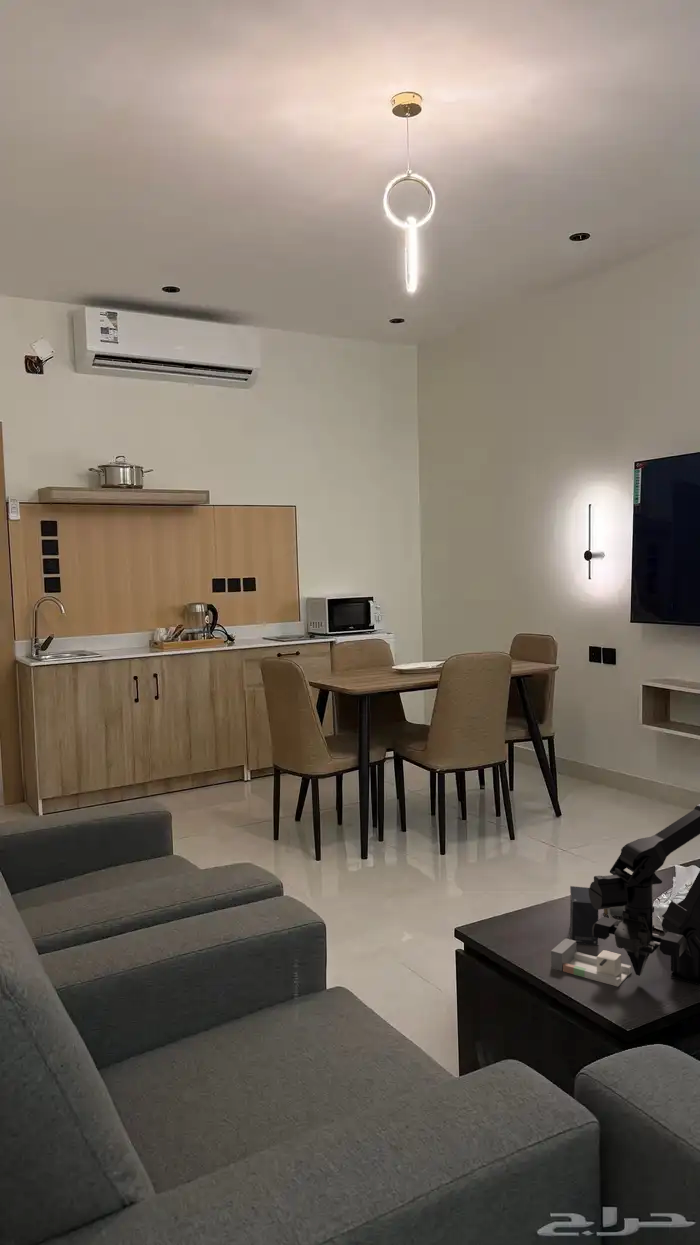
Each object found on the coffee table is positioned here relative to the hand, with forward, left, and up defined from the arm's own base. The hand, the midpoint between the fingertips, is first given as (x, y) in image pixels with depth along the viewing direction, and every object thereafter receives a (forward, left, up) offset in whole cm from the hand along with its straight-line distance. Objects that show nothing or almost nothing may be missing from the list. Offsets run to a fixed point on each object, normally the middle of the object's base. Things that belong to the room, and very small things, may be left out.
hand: (638, 974), depth 188 cm
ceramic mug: (+16, -33, -2) cm, 36 cm away
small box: (+19, -16, -2) cm, 25 cm away
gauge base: (+11, 0, -2) cm, 11 cm away
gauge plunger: (+6, +2, -1) cm, 7 cm away
